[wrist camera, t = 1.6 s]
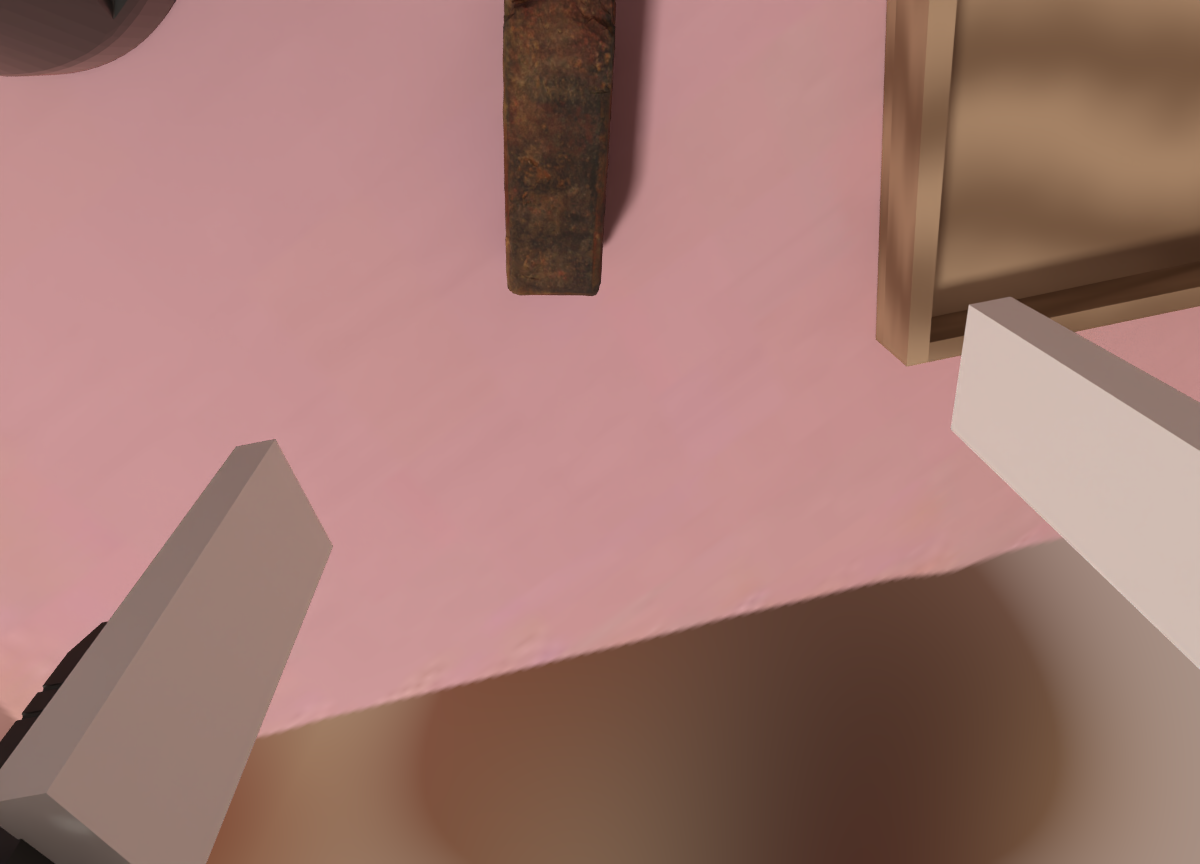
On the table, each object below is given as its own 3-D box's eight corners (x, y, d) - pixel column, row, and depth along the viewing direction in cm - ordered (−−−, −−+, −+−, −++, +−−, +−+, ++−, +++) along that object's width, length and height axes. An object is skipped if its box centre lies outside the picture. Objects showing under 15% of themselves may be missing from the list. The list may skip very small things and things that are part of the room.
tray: (895, -254, 22) (947, -299, 19) (1570, -419, 21) (1731, -492, 18) (875, 339, 33) (906, 366, 30) (1312, 248, 32) (1386, 267, 29)
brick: (595, 267, 30) (603, 300, 26) (510, 264, 30) (505, 297, 26) (610, -5, 25) (623, -15, 21) (506, -12, 24) (499, -25, 20)
